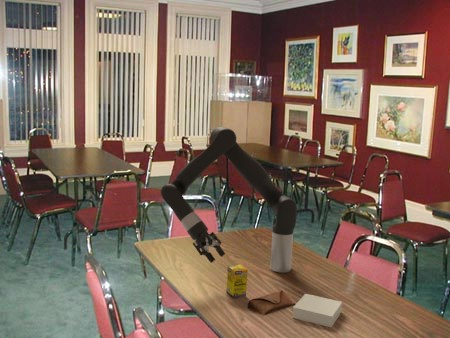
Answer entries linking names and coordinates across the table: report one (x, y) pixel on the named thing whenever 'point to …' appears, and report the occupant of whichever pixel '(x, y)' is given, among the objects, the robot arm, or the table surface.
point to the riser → (317, 310)
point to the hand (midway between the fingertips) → (218, 258)
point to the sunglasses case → (270, 303)
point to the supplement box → (236, 281)
